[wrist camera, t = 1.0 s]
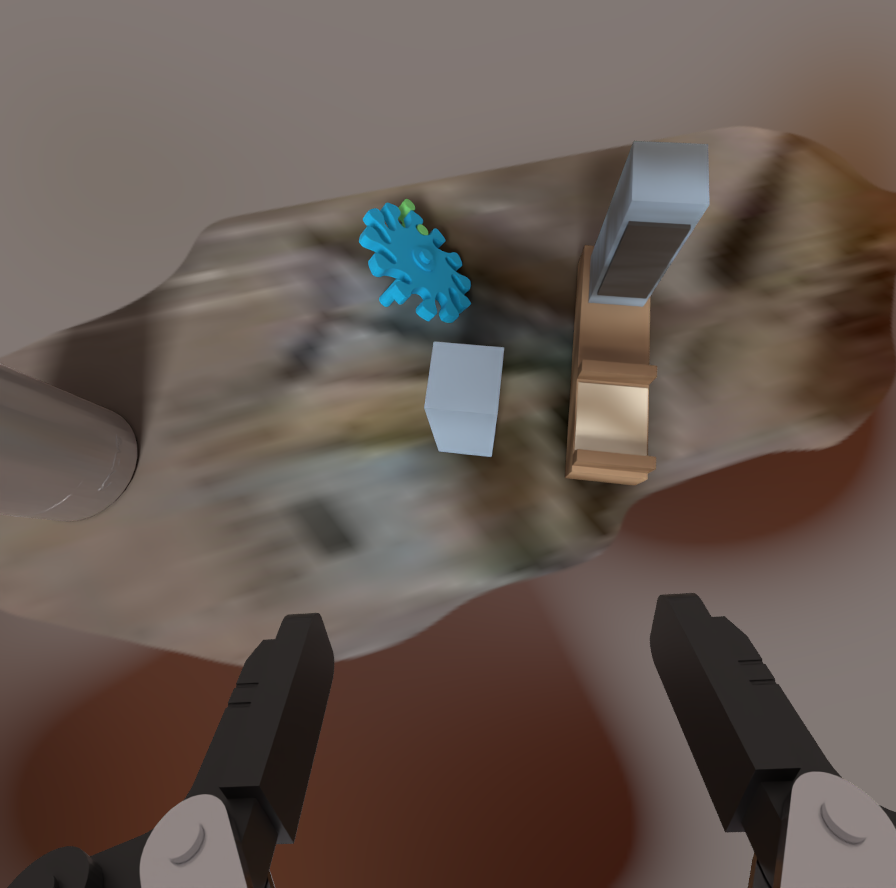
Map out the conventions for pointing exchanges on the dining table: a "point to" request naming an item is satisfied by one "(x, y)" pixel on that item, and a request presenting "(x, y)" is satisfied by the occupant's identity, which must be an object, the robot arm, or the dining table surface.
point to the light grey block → (464, 397)
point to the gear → (414, 262)
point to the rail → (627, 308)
